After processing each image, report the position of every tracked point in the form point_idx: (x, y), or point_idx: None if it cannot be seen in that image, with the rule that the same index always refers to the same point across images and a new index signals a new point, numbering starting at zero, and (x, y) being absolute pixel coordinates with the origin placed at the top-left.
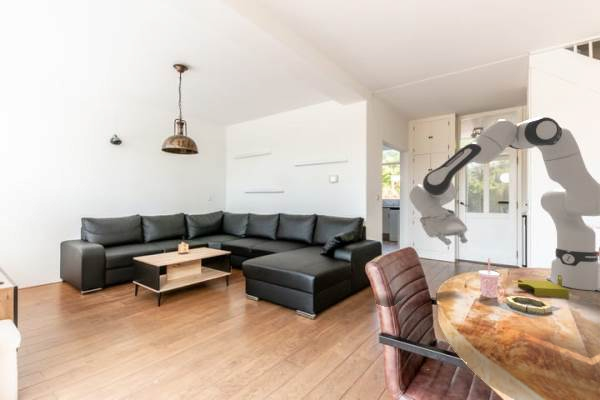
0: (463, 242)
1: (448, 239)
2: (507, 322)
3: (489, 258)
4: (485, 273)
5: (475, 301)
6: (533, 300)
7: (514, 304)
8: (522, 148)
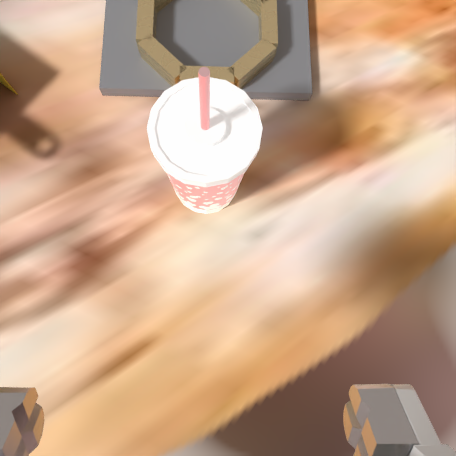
0: (40, 413)
1: (397, 432)
2: (390, 23)
3: (205, 67)
4: (238, 132)
5: (305, 184)
6: (154, 25)
7: (277, 36)
8: None
